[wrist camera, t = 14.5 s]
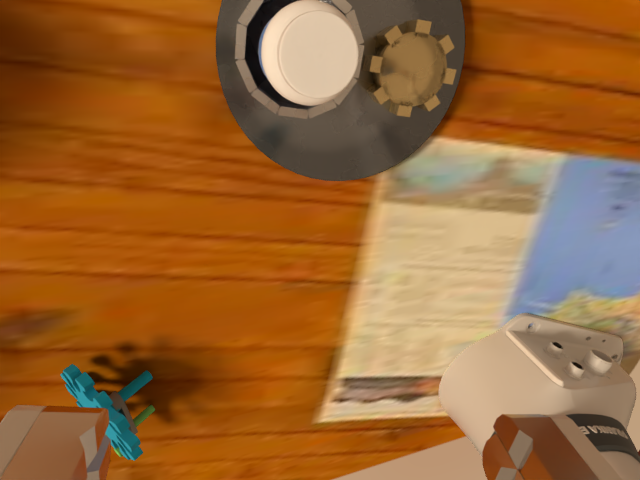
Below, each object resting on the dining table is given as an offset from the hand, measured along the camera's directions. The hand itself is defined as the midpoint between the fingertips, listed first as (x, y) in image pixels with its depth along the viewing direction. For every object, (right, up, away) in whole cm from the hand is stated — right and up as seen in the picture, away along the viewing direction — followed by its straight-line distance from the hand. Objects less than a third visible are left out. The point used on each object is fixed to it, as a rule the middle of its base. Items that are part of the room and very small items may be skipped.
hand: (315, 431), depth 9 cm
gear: (-22, -9, +31) cm, 39 cm away
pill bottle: (-1, +17, +20) cm, 27 cm away
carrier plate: (+2, +17, +22) cm, 28 cm away
